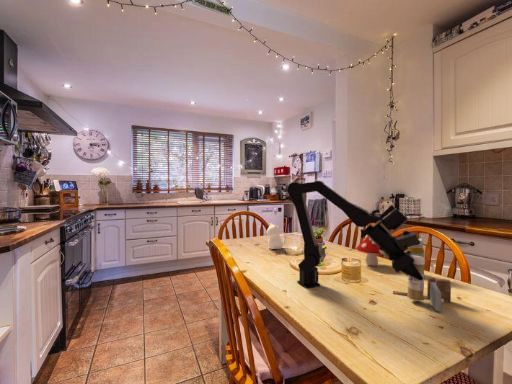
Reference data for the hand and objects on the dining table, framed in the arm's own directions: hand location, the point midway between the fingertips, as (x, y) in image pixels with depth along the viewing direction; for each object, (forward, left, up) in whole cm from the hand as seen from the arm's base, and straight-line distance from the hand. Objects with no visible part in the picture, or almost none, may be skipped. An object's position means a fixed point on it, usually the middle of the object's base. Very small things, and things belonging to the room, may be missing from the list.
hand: (421, 277), depth 81 cm
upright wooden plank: (+4, +3, -8) cm, 10 cm away
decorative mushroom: (+18, +34, -8) cm, 39 cm away
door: (+2, -4, -8) cm, 9 cm away
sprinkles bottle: (-1, +1, -7) cm, 7 cm away
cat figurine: (-7, +81, -8) cm, 81 cm away
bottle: (+24, +18, -8) cm, 31 cm away
